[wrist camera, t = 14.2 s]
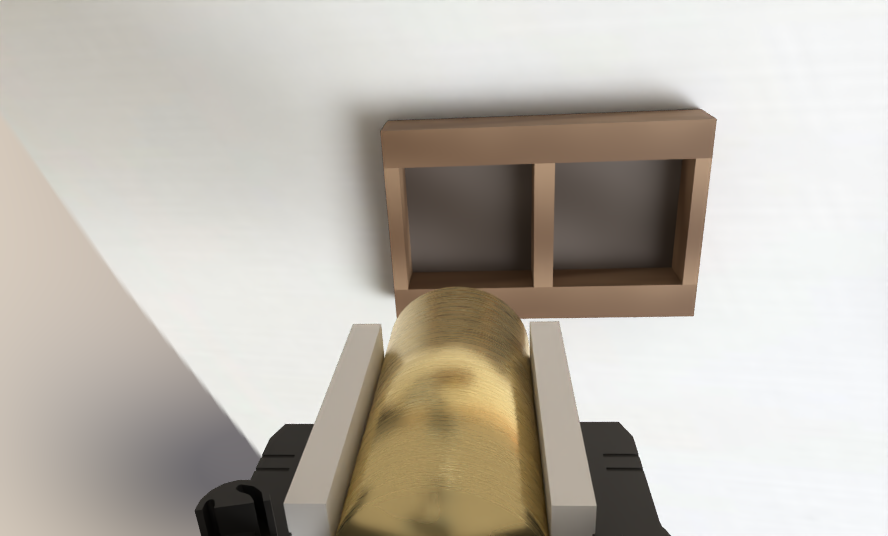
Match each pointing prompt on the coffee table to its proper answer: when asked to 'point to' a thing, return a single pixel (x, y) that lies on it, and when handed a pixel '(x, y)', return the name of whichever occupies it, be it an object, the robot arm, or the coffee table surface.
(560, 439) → the robot arm
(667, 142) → the socket block
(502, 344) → the peg
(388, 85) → the coffee table surface
